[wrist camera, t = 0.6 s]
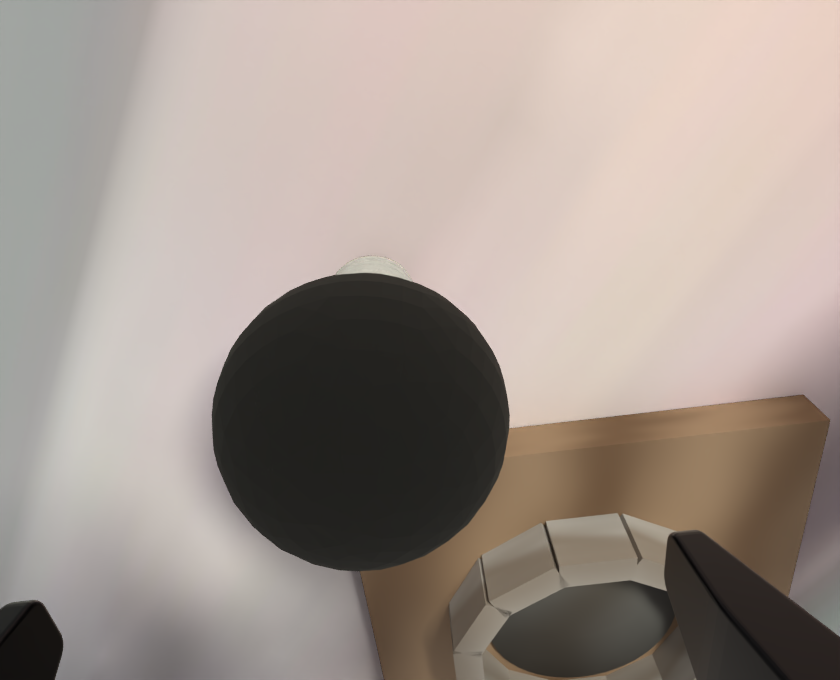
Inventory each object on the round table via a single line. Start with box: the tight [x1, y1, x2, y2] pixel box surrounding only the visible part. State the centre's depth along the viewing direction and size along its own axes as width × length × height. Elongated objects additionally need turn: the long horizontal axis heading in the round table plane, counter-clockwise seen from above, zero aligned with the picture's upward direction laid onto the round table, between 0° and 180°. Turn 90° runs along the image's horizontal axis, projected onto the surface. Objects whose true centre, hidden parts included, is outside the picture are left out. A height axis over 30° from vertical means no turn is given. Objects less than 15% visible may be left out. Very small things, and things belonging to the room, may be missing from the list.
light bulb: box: [212, 256, 510, 571], centre depth 15 cm, size 6×6×10 cm
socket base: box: [360, 395, 830, 680], centre depth 24 cm, size 16×16×4 cm
